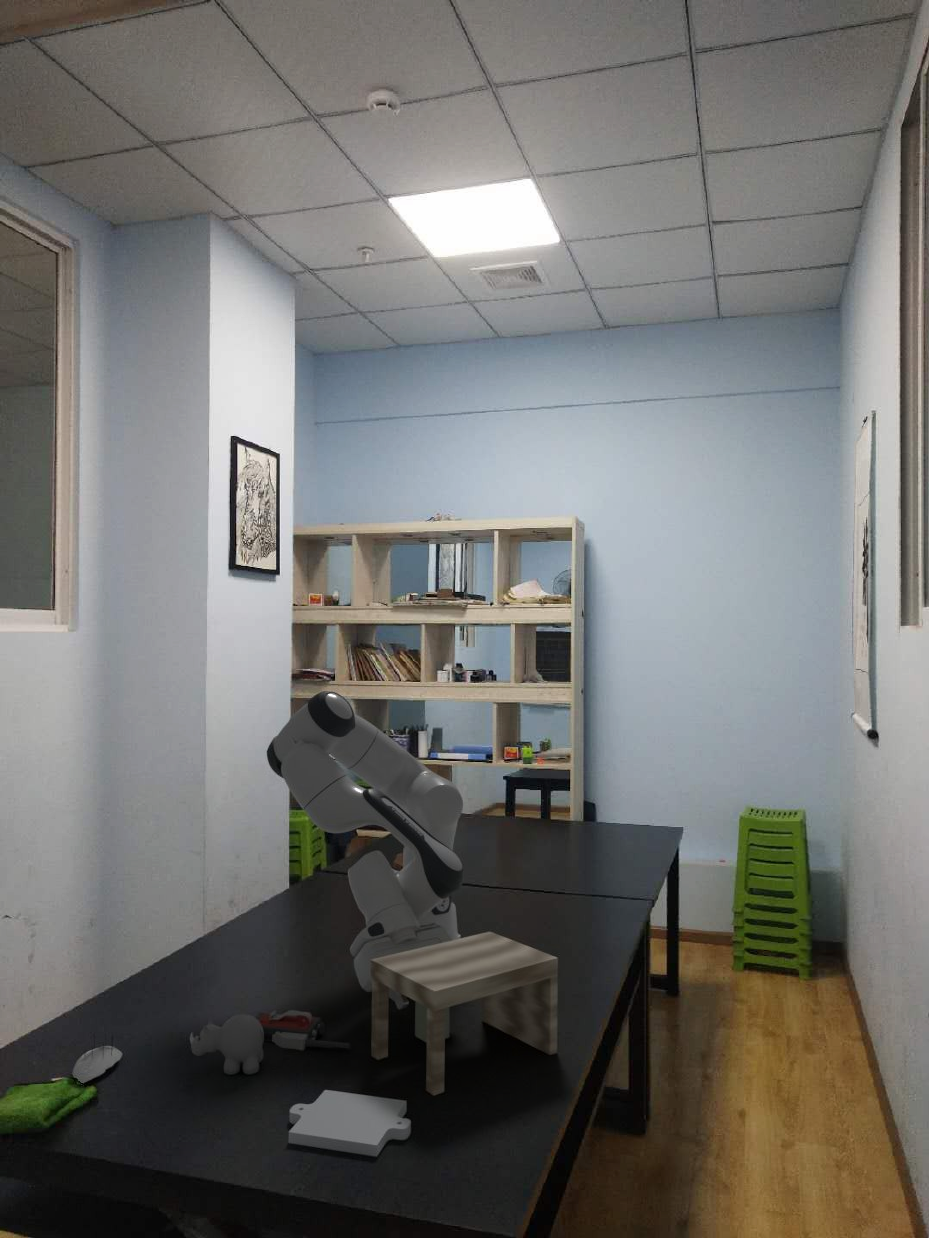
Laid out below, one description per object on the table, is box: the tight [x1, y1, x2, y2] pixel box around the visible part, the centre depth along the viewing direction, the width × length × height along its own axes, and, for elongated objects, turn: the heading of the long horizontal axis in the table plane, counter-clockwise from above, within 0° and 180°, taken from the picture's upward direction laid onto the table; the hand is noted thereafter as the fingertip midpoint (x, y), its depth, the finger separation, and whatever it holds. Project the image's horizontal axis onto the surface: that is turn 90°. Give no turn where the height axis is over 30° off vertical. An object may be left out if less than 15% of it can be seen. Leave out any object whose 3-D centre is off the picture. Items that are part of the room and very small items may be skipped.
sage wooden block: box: [414, 1001, 450, 1044], centre depth 172 cm, size 4×4×8 cm
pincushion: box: [71, 1034, 123, 1084], centre depth 158 cm, size 12×6×6 cm, turn 173°
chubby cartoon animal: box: [189, 1013, 265, 1076], centre depth 159 cm, size 7×12×8 cm, turn 88°
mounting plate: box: [288, 1089, 412, 1157], centre depth 140 cm, size 18×13×2 cm
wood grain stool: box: [370, 931, 559, 1096], centre depth 165 cm, size 18×26×16 cm
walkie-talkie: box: [255, 1009, 351, 1051], centre depth 170 cm, size 9×4×20 cm
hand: (426, 1000), depth 172 cm, fingers open, 8 cm apart
